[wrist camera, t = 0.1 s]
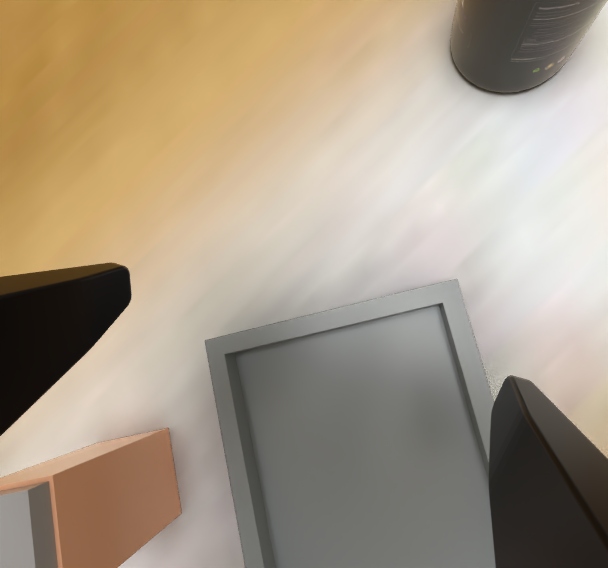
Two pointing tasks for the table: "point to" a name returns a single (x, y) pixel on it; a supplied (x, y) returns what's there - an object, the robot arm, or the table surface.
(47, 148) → the table surface
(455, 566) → the tray
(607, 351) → the table surface
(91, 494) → the tall box
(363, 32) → the table surface
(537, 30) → the supplement bottle
